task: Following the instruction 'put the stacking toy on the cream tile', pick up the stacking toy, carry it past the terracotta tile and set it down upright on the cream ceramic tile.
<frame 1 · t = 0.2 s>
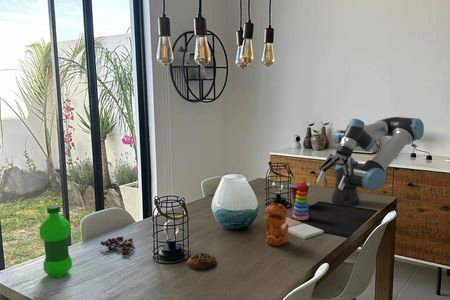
hand: (328, 186, 211), 16 cm above the table, fingers open, 13 cm apart
stacking toy: (300, 218, 214), on the table
plastic cup: (299, 205, 236), on the table
terracotta tile: (283, 224, 205), on the table
cream tile: (304, 232, 195), on the table
grape bunch: (120, 250, 177), on the table
bread roll: (201, 264, 163), on the table
plastic bottle: (58, 274, 155), on the table
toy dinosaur: (275, 243, 182), on the table
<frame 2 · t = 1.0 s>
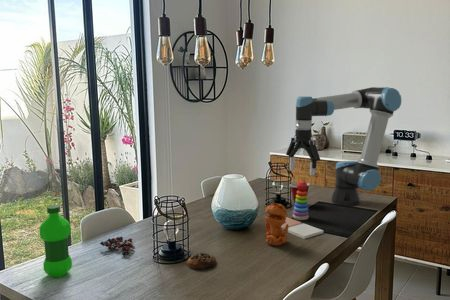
hand: (302, 172, 210), 23 cm above the table, fingers open, 13 cm apart
nothing on the table moved.
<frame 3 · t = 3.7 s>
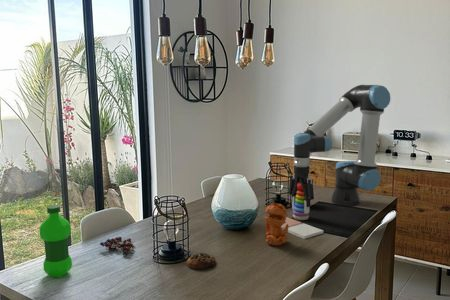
hand: (300, 210, 214), 4 cm above the table, fingers closed on stacking toy, 7 cm apart
stacking toy: (300, 218, 214), on the table, touching gripper
everything else where it was.
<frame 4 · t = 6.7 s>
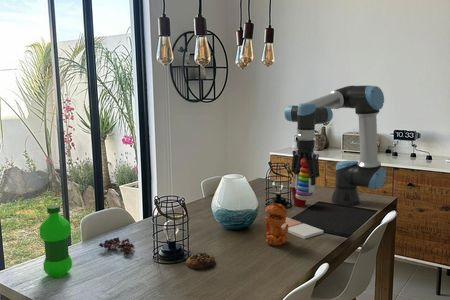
hand: (304, 190, 192), 19 cm above the table, fingers closed on stacking toy, 7 cm apart
stacking toy: (304, 198, 192), point 15 cm above the table, touching gripper
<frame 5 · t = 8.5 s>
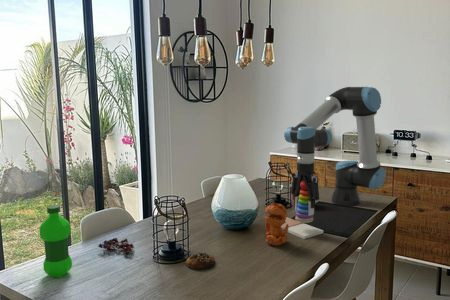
hand: (304, 212, 193), 9 cm above the table, fingers closed on stacking toy, 7 cm apart
stacking toy: (304, 220, 194), point 5 cm above the table, touching gripper
when the fingers open (7 cm above the table, at t = 9.9 s): stacking toy drops 2 cm, resting on cream tile.
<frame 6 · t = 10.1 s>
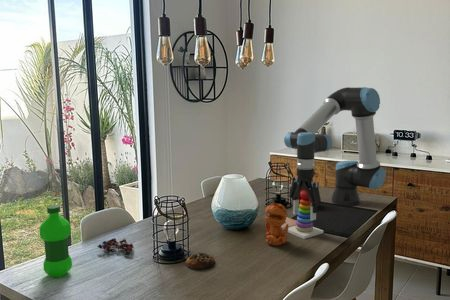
hand: (304, 216, 193), 7 cm above the table, fingers open, 10 cm apart
stacking toy: (304, 229, 194), point 1 cm above the table, touching cream tile
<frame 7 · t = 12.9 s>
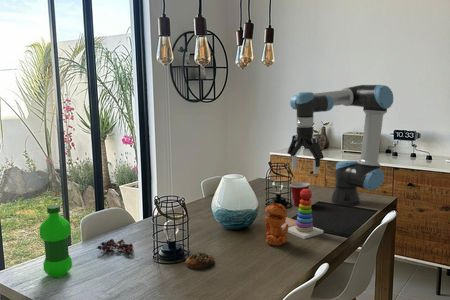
hand: (304, 171, 202), 25 cm above the table, fingers open, 13 cm apart
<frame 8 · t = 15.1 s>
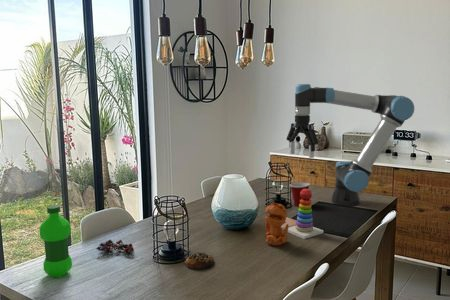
hand: (301, 155, 223), 29 cm above the table, fingers open, 13 cm apart
at the end: stacking toy inside the target area on the cream tile (0.1 cm from its centre), point 1.0 cm above the cream tile's base; stacking toy tilted 0°; stacking toy touching cream tile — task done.
